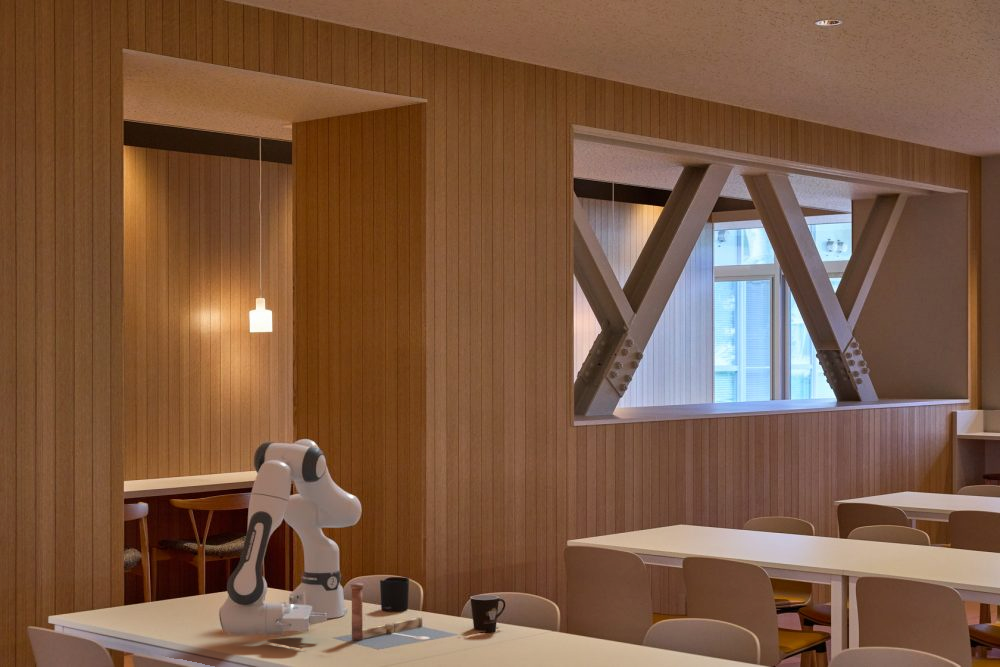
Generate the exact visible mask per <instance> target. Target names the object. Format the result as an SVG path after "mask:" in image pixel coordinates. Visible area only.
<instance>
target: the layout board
mask: <svg viewBox="0 0 1000 667" xmlns="http://www.w3.org/2000/svg"><path fill="white" fill-rule="evenodd" d="M453 636H454V637H455V636H459V634H458V633H452V632H447V631H444V630H440V629H435V628H431V627H426V626H422V627H415V628H411V629H406V630H402V631H397V632H394V633H391V634H386V633H385V634H380V635H376V636H371V637H366V638H362V640H352V633H351V634H346V635H341V636H334V637H333V639H336V640H339V641H344V642H348V643H350V644H351V643H352V644H355V645H359V646H362V647H368V648H371V649H374V650H381V649H382V650H384V649H387V648H394V647H399V646H405V645H411V644H415V643H421V642H426V641H431V640H438V639H443V638H447V637H448V638H449V637H453ZM456 638H459V637H456Z"/></svg>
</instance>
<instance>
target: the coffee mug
mask: <svg viewBox="0 0 1000 667" xmlns="http://www.w3.org/2000/svg"><path fill="white" fill-rule="evenodd" d="M469 599H470V607H471V615H472V623H473V629H474V630H475V631H479V632H477V633H478V634H491V633H495V632H496V630H497V622H498V618H499V616H501V614H503V612H504V610H505V608H506V601H505V600H504V599H502V598H500V597H499V596H498V595H492V594H477V595H473V596H470V598H469ZM499 602H502V604H503V606H502V608H501V610H500V611H499ZM498 611H499V612H498Z"/></svg>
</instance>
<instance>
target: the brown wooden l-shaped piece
mask: <svg viewBox="0 0 1000 667" xmlns="http://www.w3.org/2000/svg"><path fill="white" fill-rule="evenodd" d="M363 588H364V583H361V582H360V583H359V582H356V583H351V584H350V589H351V634H352V640H362V638H366V637H371V636H376V635H380V634H385V633H386V625H385V624H383V625H379V626H373V627H370V628H369V627H368V628H363Z"/></svg>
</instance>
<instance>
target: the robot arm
mask: <svg viewBox="0 0 1000 667" xmlns="http://www.w3.org/2000/svg"><path fill="white" fill-rule="evenodd" d="M253 467H254V470H255V472H256V473H257V474H256V477H255V480H254V483H253V486H252V488H251V494H250V497H249V504H248V512H247V514H248V515H247V529H246V530H247V531H246V536H245V540H244V542H243V547H242V552H241V555H240V559H239V562H238V565H237V566H236V567H235V568H234V570H233V572H232V573H231V575H230V576H229V578H228V580H227V582H226V591H227V594H228V595H227V597H226V599H225V601H224V603H223V604H222V605H221V606H220V608H219V612H218V614H219V622H220V627H221V629H222V631H223V632H225V633H226V634H228V635H232V636H233V635H234V636H254V635H258V634H260V635H265V636H267V635H268V636H270V635H271V636H273V635H276V636H277V635H284V633H285V632H287V631H288V632H306V631H308V630H309V628H310V625H311V624H316V623H320V622H321V623H323V622H324V623H325V622H327V620H328V619H334V618H340V617H343V616H345V614H346V613H348V609H347V608H346V607H345V597H344V588H343V586H342V585H341V581H342V579H341V578H342V574H341V570H340V548H339V546H338V543H336V541H334V540H333V539H330V538H329V537H327V536H325V534H324V532H323V530H322V528H334V529H335V528H337V529H340V528H341V529H342V528H347V527H351V526H355V525H356V524H357V523H358V522H359V520H360V519H361V516H362V513H363V512H362V504H361V501H360V500H359V498H358V497H357V496H356V495H353V494H351V493H349V492H347V491H345V490H344V489H343V488H341V487H340V486H339V485H338V484H336V482H334V480H333V479H332V477H331V474H330V472H329V469H328V465H327V457H326V455H325V453H324V452H323V450H321V449H320V447H319V446H318V444H317V443H316V442H315V441H314V440H311V439H308V438H303V439H298V440H296V441H294V443H286V442H274V441H269V442H263V443H261V444H260V445H259V446H258V447H257V449H256V450H255V453H254V455H253ZM292 482H294V486H295V488H296V491H297V493H295V494H291V491H292ZM283 521H285V523H286V524H288V525H289V526H290V527H291V528H292V529H293V530H294V531H295V533H296V534H297V535H298V537H299V540H301V544H302V548H303V557H304V560H303V561H304V571H303V572H300V573H299V574H300V575H299V577H301V581H300V584H299V585H298V586H297V587H296V588H295V589H294V590H293V591H291V593H290V594H289V597H288V598H289V599H288V604H287V602H286V601H284V602H280V601H279V602H265V599H266V594H267V592H268V583H267V581H266V578H265V577H264V575H263V574H262V573H263V572H262V571H263V570H262V567H263V564H264V559H265V556H266V552H267V547H268V544H269V540H270V538H271V536H272V535H273V533H274V531H275V530H276V529H277V528H279V527H280V526H281V524H282V522H283Z"/></svg>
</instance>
